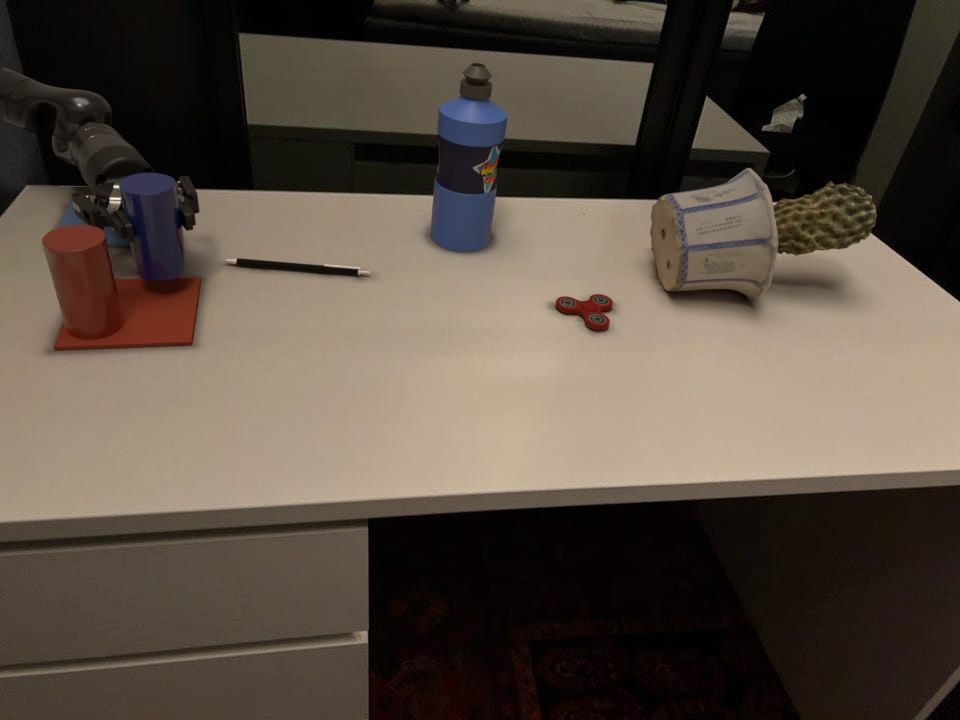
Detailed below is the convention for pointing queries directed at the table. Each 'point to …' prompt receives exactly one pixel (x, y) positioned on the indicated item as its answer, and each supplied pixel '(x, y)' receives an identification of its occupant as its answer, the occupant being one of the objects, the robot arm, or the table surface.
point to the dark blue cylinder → (154, 225)
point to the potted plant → (749, 232)
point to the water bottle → (467, 164)
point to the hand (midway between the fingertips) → (160, 228)
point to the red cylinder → (84, 281)
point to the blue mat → (73, 219)
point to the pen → (299, 266)
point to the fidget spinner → (588, 309)
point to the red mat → (147, 315)
